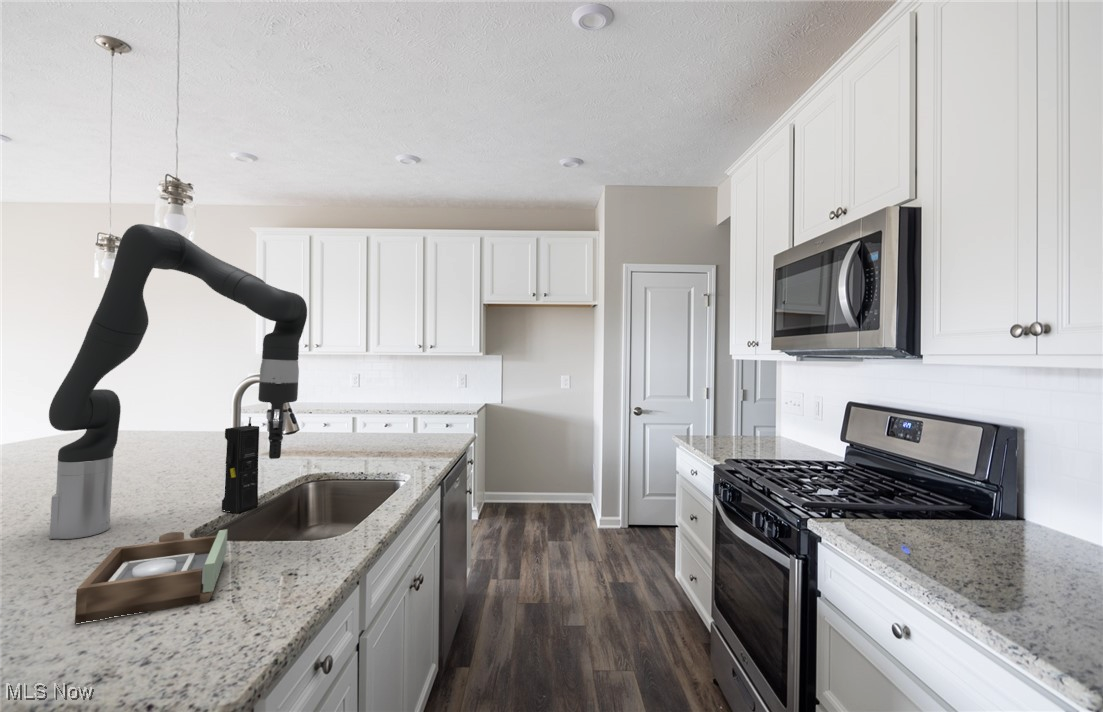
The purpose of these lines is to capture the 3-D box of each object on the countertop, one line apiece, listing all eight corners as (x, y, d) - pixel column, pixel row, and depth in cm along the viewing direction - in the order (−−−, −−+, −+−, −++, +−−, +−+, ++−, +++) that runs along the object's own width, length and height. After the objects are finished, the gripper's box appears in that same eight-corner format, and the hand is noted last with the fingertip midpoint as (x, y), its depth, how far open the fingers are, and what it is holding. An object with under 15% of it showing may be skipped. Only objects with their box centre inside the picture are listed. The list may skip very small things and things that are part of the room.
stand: (155, 565, 94) (156, 540, 94) (160, 557, 97) (161, 533, 97) (180, 561, 96) (181, 537, 96) (184, 554, 99) (185, 530, 99)
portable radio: (236, 515, 124) (240, 421, 125) (217, 513, 126) (221, 419, 126) (260, 506, 132) (264, 417, 133) (241, 504, 133) (246, 416, 134)
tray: (89, 612, 73) (90, 580, 74) (125, 566, 89) (126, 540, 89) (213, 591, 81) (214, 563, 81) (226, 553, 97) (227, 529, 97)
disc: (122, 582, 81) (123, 573, 81) (148, 567, 87) (149, 558, 87) (159, 582, 82) (160, 573, 82) (183, 567, 88) (183, 559, 88)
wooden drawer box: (74, 624, 73) (76, 589, 73) (114, 576, 88) (115, 547, 89) (209, 601, 81) (210, 569, 81) (223, 561, 97) (224, 534, 97)
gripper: (261, 378, 108) (257, 453, 108) (257, 381, 97) (252, 465, 96) (298, 378, 112) (294, 451, 112) (298, 382, 100) (293, 463, 100)
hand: (274, 457), depth 104 cm, fingers closed
